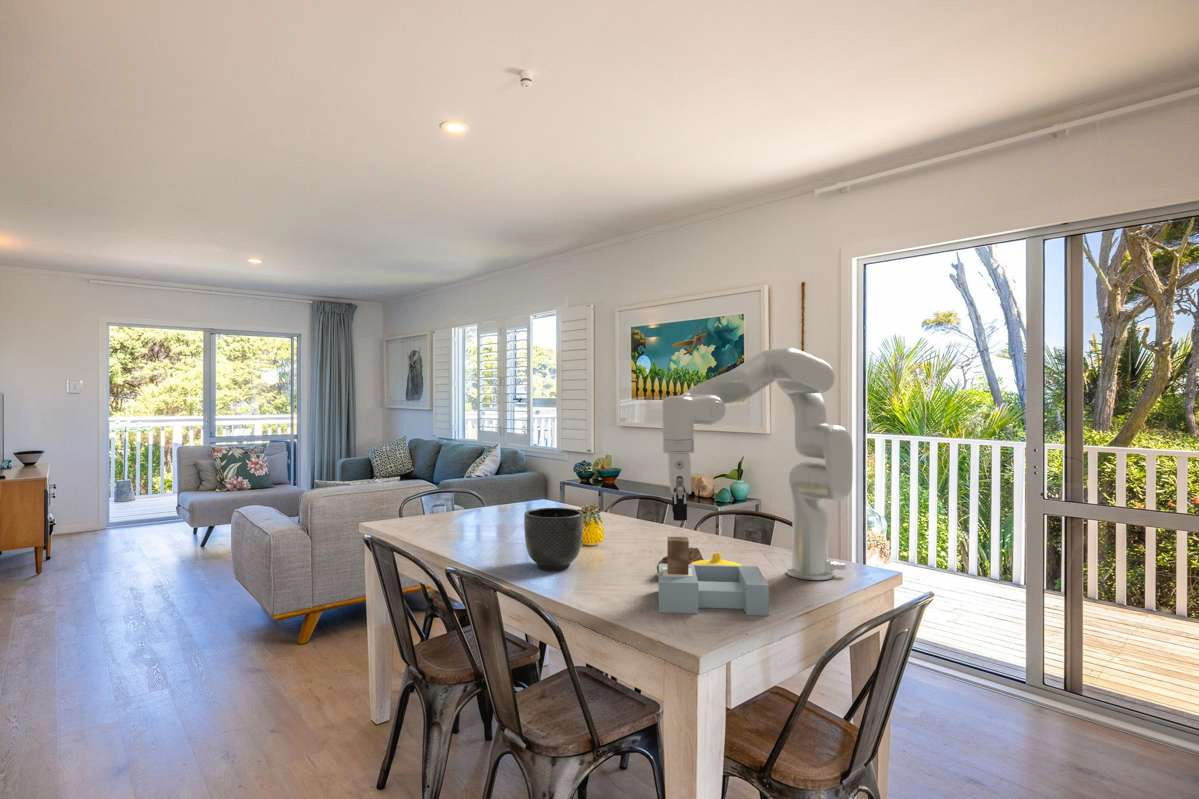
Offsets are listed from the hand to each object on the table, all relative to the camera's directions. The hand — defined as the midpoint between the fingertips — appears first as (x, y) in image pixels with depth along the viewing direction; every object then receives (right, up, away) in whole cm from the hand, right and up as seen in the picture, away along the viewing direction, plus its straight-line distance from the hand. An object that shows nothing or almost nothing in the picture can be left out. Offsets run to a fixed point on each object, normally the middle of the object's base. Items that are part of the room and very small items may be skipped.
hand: (679, 516), depth 162 cm
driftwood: (+4, -21, +26) cm, 34 cm away
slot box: (+7, -21, -1) cm, 22 cm away
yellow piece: (+13, -21, +20) cm, 31 cm away
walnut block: (0, -14, 0) cm, 14 cm away
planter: (-33, -21, +32) cm, 50 cm away
